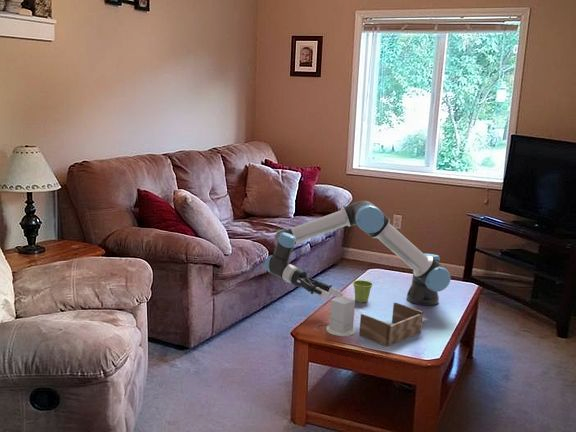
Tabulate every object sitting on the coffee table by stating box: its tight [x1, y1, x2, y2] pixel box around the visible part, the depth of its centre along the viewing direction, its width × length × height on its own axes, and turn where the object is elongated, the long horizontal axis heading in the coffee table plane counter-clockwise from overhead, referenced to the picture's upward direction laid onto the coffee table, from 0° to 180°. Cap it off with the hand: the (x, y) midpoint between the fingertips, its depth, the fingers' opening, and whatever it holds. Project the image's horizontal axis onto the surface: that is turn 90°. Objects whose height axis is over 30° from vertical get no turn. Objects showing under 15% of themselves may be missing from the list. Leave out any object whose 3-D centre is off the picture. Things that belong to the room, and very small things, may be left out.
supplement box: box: [328, 296, 356, 333], centre depth 250 cm, size 7×7×13 cm
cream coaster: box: [326, 324, 356, 337], centre depth 251 cm, size 12×12×1 cm
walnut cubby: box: [358, 302, 424, 347], centre depth 250 cm, size 24×14×9 cm, turn 135°
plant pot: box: [352, 279, 374, 303], centre depth 289 cm, size 9×9×9 cm
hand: (335, 296), depth 257 cm, fingers open, 13 cm apart
